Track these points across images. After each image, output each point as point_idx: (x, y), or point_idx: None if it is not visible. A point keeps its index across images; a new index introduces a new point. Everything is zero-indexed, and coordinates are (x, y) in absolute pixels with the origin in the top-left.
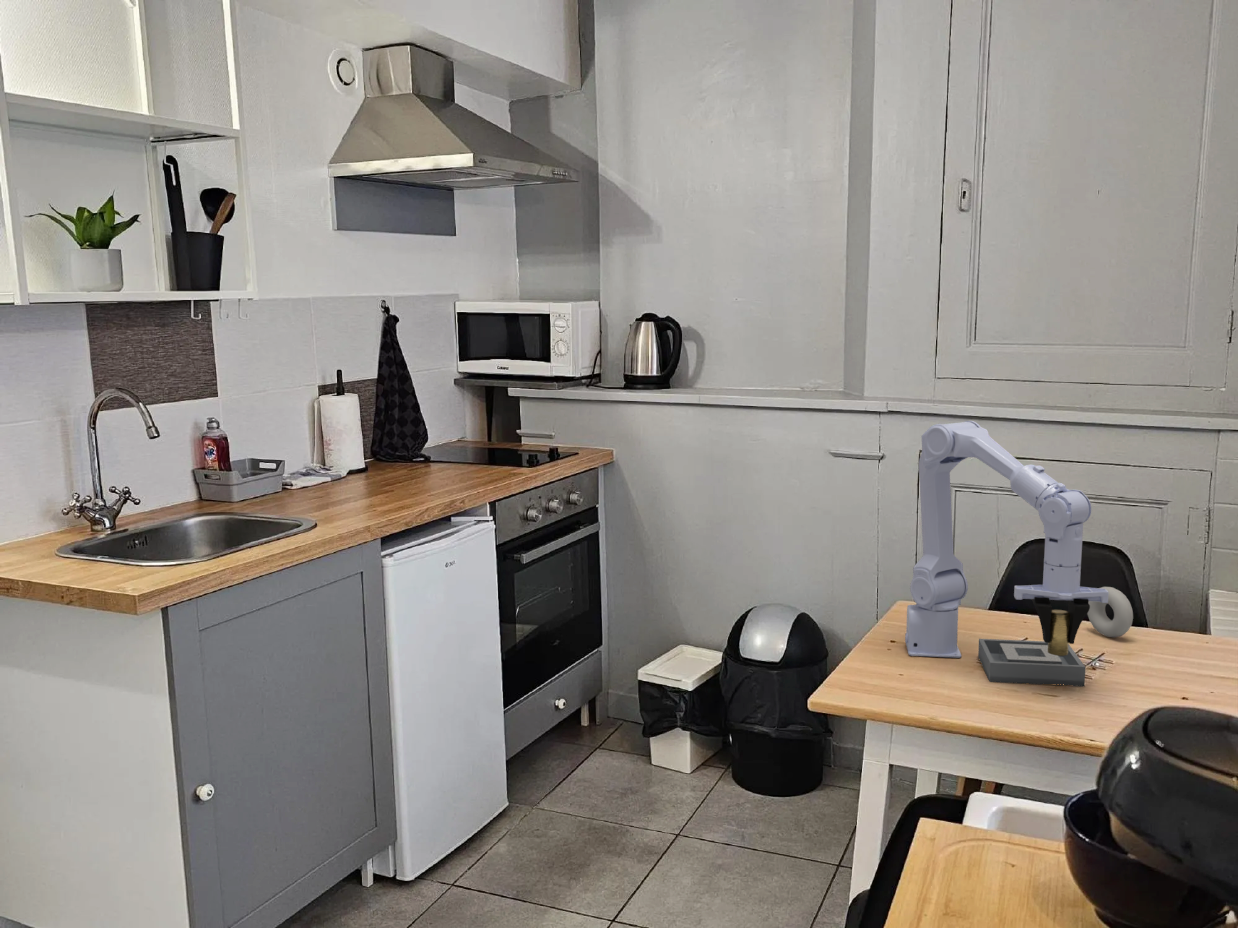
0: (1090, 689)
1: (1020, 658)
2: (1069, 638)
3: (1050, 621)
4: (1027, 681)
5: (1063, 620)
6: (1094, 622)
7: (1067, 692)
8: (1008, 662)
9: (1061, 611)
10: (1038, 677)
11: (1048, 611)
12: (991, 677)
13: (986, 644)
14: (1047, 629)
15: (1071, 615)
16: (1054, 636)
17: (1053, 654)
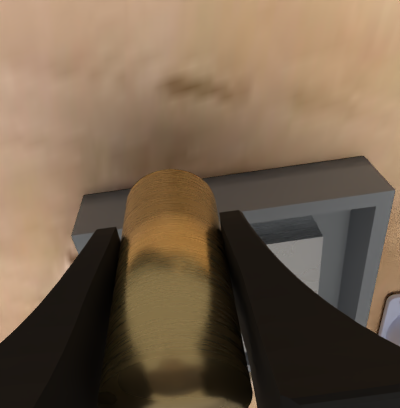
0: (64, 177)
1: (279, 252)
2: (114, 250)
3: (248, 293)
4: (251, 175)
5: (149, 319)
6: None
7: (132, 131)
8: (329, 207)
9: None
10: (221, 187)
11: (301, 352)
12: (364, 163)
13: None
14: (252, 250)
15: (89, 388)
16: (199, 233)
17: (193, 175)
